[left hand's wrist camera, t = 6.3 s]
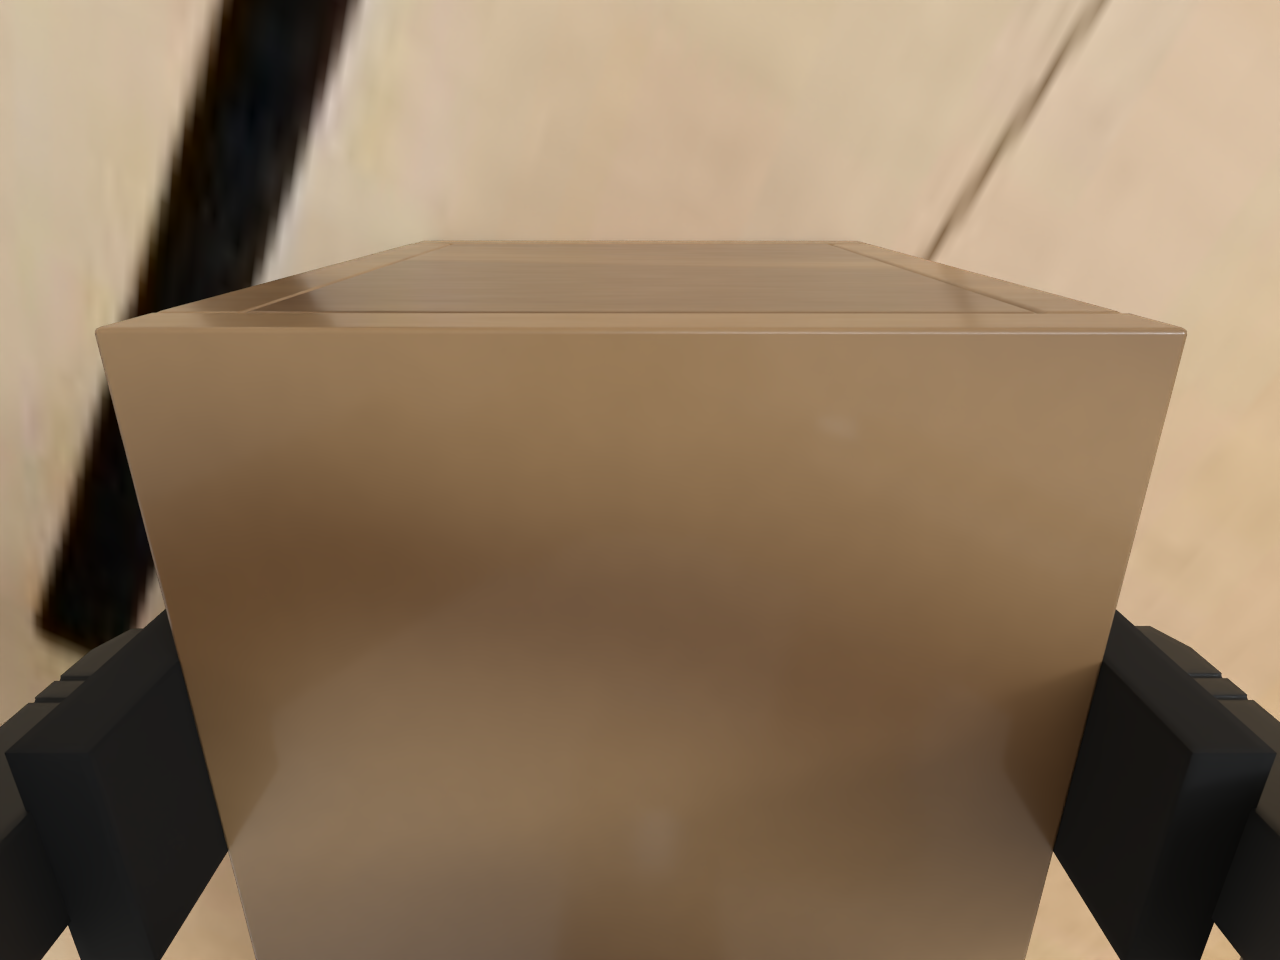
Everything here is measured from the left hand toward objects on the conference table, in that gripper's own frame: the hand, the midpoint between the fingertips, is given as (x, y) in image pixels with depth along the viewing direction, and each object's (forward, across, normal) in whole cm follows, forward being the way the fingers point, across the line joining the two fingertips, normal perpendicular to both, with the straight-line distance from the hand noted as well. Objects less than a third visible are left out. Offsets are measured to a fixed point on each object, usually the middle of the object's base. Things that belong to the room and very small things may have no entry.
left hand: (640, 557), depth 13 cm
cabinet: (+6, 0, -5) cm, 8 cm away
